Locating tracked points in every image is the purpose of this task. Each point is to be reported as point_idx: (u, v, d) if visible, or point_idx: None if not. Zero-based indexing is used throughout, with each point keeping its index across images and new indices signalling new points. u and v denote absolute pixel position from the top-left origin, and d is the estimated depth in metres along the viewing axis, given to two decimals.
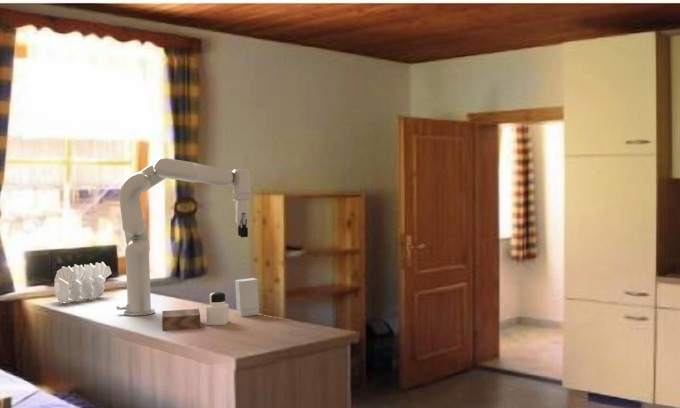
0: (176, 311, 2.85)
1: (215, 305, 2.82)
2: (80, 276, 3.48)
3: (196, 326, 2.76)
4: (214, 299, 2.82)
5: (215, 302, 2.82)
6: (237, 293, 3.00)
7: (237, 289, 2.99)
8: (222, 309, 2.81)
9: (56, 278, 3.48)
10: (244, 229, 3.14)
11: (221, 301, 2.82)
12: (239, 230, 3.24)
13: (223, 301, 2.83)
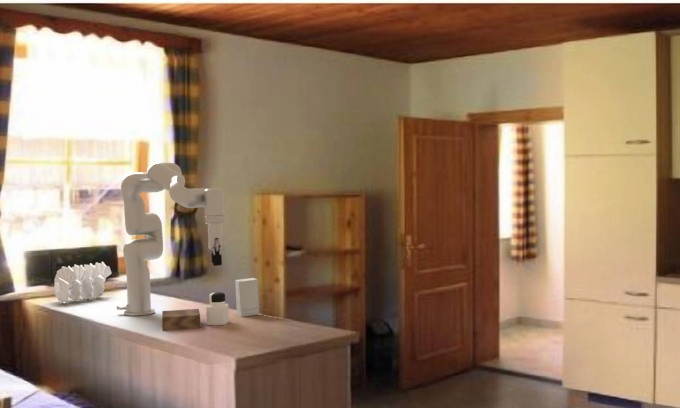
0: (176, 311, 2.85)
1: (215, 305, 2.82)
2: (80, 276, 3.48)
3: (196, 326, 2.76)
4: (214, 299, 2.82)
5: (215, 302, 2.82)
6: (237, 293, 3.00)
7: (237, 289, 2.99)
8: (222, 309, 2.81)
9: (56, 278, 3.48)
10: (217, 256, 2.78)
11: (221, 301, 2.82)
12: (213, 257, 2.88)
13: (223, 301, 2.83)
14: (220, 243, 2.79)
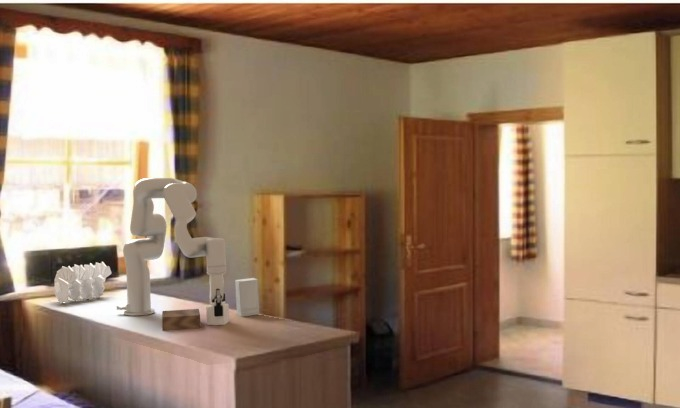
0: (176, 311, 2.85)
1: None
2: (80, 276, 3.48)
3: (196, 326, 2.76)
4: None
5: None
6: (237, 293, 3.00)
7: (237, 289, 2.99)
8: None
9: (56, 278, 3.48)
10: (218, 307, 2.79)
11: None
12: None
13: (223, 301, 2.83)
14: (221, 294, 2.80)
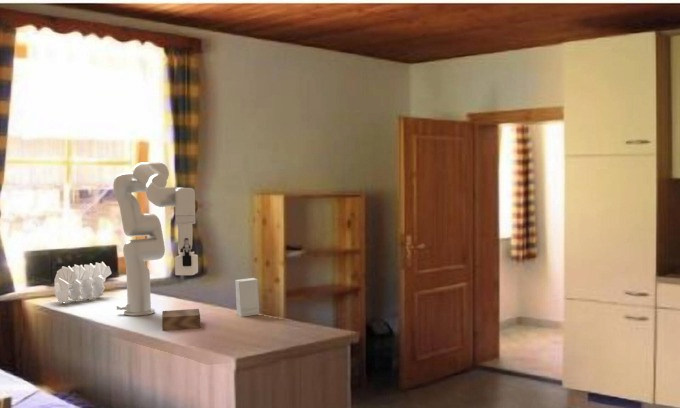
0: (176, 311, 2.85)
1: None
2: (80, 276, 3.48)
3: (196, 326, 2.76)
4: (182, 248, 2.79)
5: None
6: (237, 293, 3.00)
7: (237, 289, 2.99)
8: (191, 259, 2.78)
9: (56, 278, 3.48)
10: (187, 257, 2.76)
11: (190, 251, 2.79)
12: None
13: (192, 251, 2.80)
14: (190, 243, 2.77)
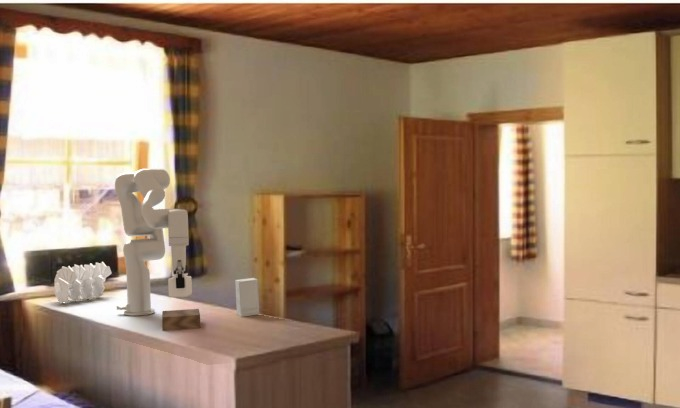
0: (176, 311, 2.85)
1: None
2: (80, 276, 3.48)
3: (196, 326, 2.76)
4: None
5: None
6: (237, 293, 3.00)
7: (237, 289, 2.99)
8: None
9: (56, 278, 3.48)
10: (180, 279, 2.76)
11: None
12: None
13: (185, 273, 2.80)
14: (183, 265, 2.76)
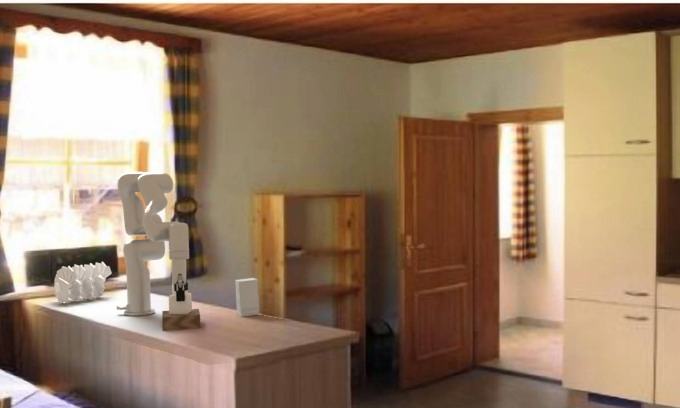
0: None
1: None
2: (80, 276, 3.48)
3: (196, 326, 2.76)
4: (176, 288, 2.78)
5: None
6: (237, 293, 3.00)
7: (237, 289, 2.99)
8: (185, 298, 2.78)
9: (56, 278, 3.48)
10: (180, 292, 2.76)
11: None
12: None
13: (186, 290, 2.80)
14: (183, 279, 2.77)
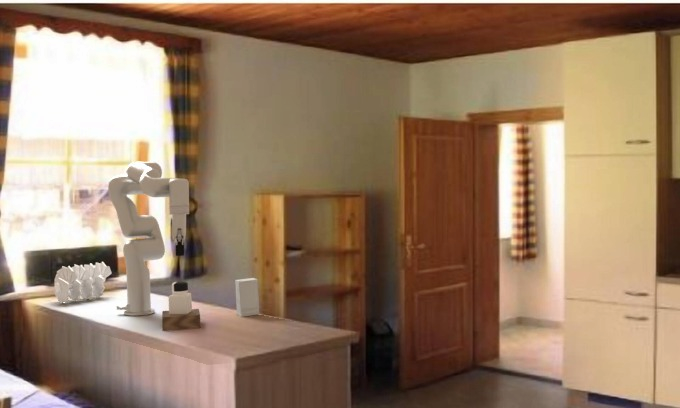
0: None
1: (177, 294, 2.79)
2: (80, 276, 3.48)
3: (196, 326, 2.76)
4: (176, 288, 2.78)
5: (177, 291, 2.79)
6: (237, 293, 3.00)
7: (237, 289, 2.99)
8: (185, 298, 2.78)
9: (56, 278, 3.48)
10: (180, 247, 2.80)
11: (184, 290, 2.79)
12: None
13: (186, 290, 2.80)
14: (183, 233, 2.80)
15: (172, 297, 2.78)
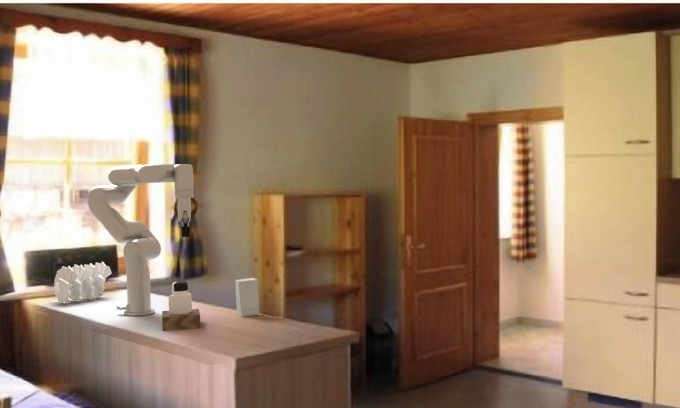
0: None
1: (177, 294, 2.79)
2: (80, 276, 3.49)
3: (196, 326, 2.76)
4: (176, 288, 2.78)
5: (177, 291, 2.79)
6: (237, 293, 3.00)
7: (237, 289, 2.99)
8: (185, 298, 2.78)
9: (56, 278, 3.48)
10: (185, 228, 2.94)
11: (184, 290, 2.79)
12: None
13: (186, 290, 2.80)
14: (188, 216, 2.95)
15: (172, 297, 2.78)
